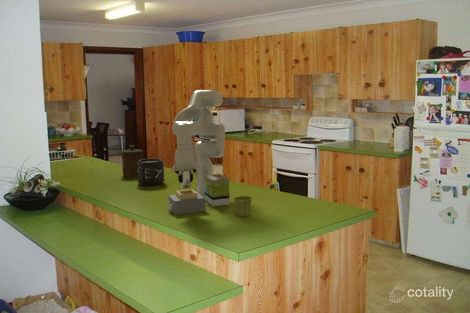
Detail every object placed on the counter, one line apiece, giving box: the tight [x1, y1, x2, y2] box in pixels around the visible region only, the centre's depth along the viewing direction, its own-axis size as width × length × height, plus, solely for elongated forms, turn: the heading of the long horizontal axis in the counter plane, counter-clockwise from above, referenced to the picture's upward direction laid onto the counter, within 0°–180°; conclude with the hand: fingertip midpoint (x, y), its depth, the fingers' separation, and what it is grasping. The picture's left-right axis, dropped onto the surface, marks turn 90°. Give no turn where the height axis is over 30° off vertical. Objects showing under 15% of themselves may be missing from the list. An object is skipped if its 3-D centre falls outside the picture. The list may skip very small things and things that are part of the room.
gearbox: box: [166, 189, 206, 216], centre depth 261 cm, size 18×14×10 cm
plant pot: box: [233, 195, 253, 217], centre depth 248 cm, size 9×9×9 cm
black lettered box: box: [137, 158, 165, 188], centre depth 328 cm, size 18×18×16 cm
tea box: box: [204, 173, 231, 207], centre depth 275 cm, size 15×10×15 cm, turn 21°
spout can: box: [180, 169, 192, 189], centre depth 259 cm, size 5×5×10 cm
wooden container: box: [121, 144, 144, 178], centre depth 359 cm, size 15×15×22 cm
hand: (185, 181), depth 259 cm, fingers closed on spout can, 4 cm apart
